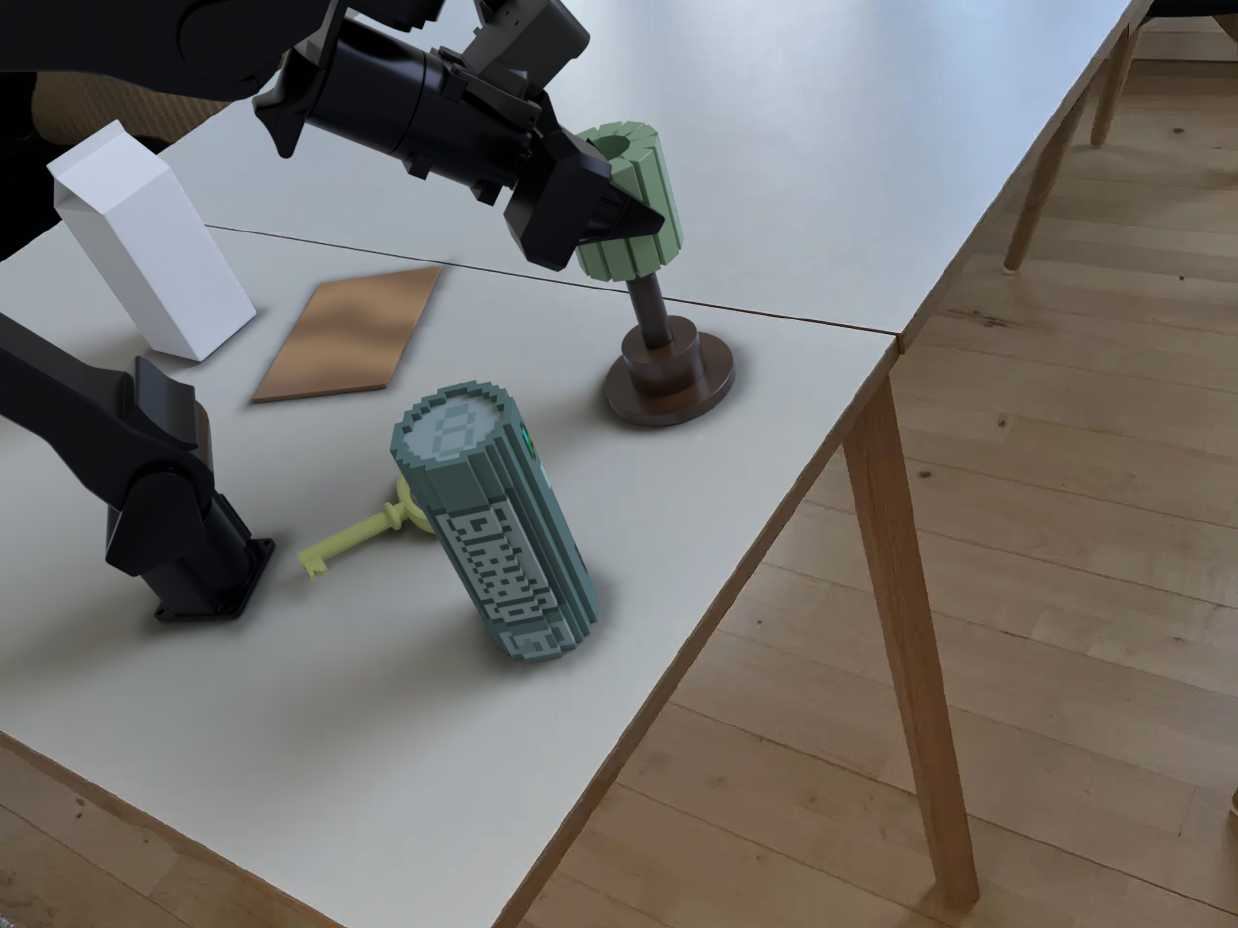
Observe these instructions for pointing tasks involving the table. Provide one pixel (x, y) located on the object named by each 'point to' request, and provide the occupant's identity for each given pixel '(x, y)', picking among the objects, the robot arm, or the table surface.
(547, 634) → the can
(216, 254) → the milk carton
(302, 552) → the key
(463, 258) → the table surface
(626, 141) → the ring
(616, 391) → the ring holder
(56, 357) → the robot arm
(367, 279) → the cork mat
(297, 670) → the table surface
